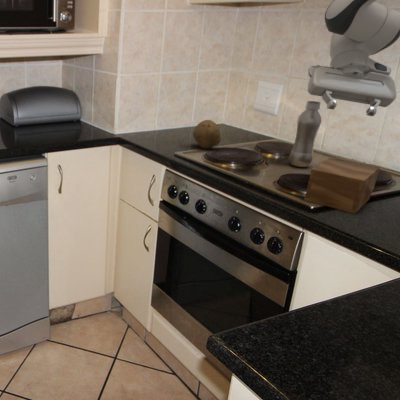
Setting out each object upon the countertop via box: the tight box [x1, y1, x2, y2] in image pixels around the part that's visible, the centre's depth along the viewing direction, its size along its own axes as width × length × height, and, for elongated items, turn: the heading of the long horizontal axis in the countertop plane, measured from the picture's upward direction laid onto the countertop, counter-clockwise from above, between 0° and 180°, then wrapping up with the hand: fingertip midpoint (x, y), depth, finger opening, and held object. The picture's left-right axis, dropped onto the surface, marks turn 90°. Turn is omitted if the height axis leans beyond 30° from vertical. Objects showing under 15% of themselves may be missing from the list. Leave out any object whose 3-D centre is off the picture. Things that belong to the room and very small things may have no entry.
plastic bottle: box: [288, 100, 322, 168], centre depth 146 cm, size 6×7×20 cm
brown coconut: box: [192, 119, 222, 150], centre depth 165 cm, size 9×9×10 cm
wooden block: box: [303, 157, 380, 214], centre depth 123 cm, size 14×12×9 cm
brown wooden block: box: [335, 157, 381, 192], centre depth 127 cm, size 14×10×7 cm
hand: (351, 110), depth 121 cm, fingers open, 8 cm apart
